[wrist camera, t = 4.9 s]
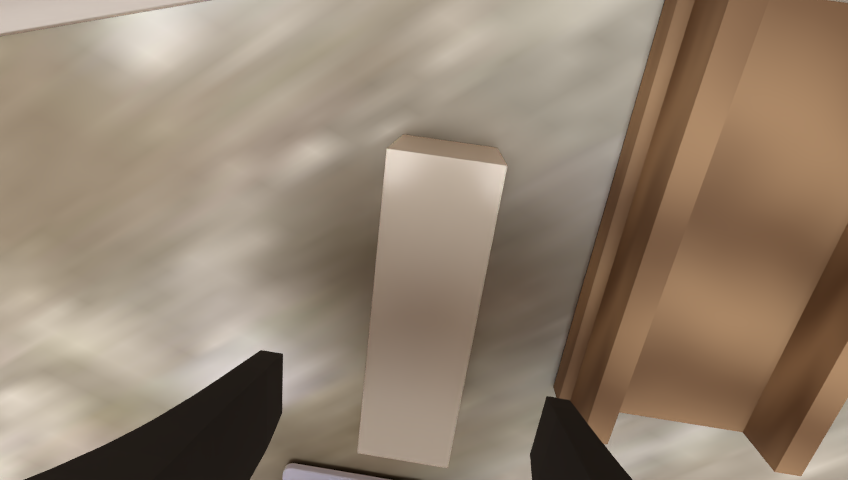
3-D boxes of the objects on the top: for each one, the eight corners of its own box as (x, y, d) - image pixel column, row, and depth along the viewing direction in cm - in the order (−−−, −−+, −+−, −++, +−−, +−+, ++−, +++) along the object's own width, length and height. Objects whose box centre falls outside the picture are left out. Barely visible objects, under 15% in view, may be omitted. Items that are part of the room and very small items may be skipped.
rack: (763, 420, 19) (814, 478, 16) (553, 386, 20) (568, 438, 17) (966, 26, 14) (1097, 12, 11) (668, -11, 14) (720, -36, 11)
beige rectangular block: (450, 398, 21) (447, 468, 17) (376, 386, 21) (357, 452, 17) (496, 146, 16) (507, 165, 13) (403, 133, 16) (386, 148, 13)
